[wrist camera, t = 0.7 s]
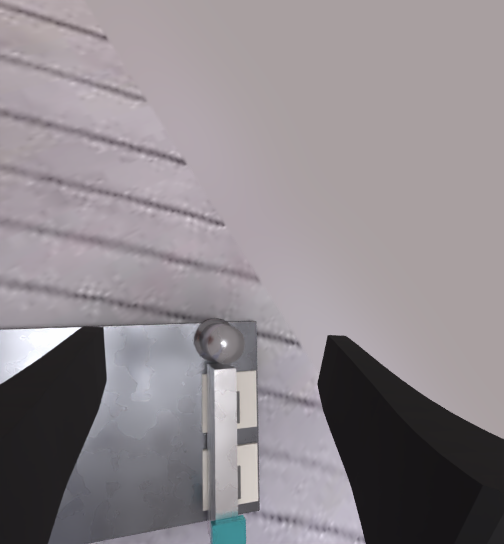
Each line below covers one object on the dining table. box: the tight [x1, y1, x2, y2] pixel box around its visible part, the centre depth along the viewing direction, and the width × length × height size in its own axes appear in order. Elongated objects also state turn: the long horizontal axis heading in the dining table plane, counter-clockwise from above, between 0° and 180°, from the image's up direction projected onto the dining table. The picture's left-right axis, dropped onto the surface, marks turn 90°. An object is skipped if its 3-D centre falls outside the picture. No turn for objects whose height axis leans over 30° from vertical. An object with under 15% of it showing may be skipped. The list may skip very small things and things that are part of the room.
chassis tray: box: [0, 321, 260, 544], centre depth 32 cm, size 17×24×1 cm
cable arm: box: [207, 363, 246, 544], centre depth 31 cm, size 14×3×4 cm, turn 0°
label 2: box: [202, 442, 258, 511], centre depth 34 cm, size 5×5×1 cm
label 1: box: [202, 370, 257, 433], centre depth 34 cm, size 5×5×1 cm
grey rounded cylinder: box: [194, 319, 245, 364], centre depth 32 cm, size 4×4×4 cm
